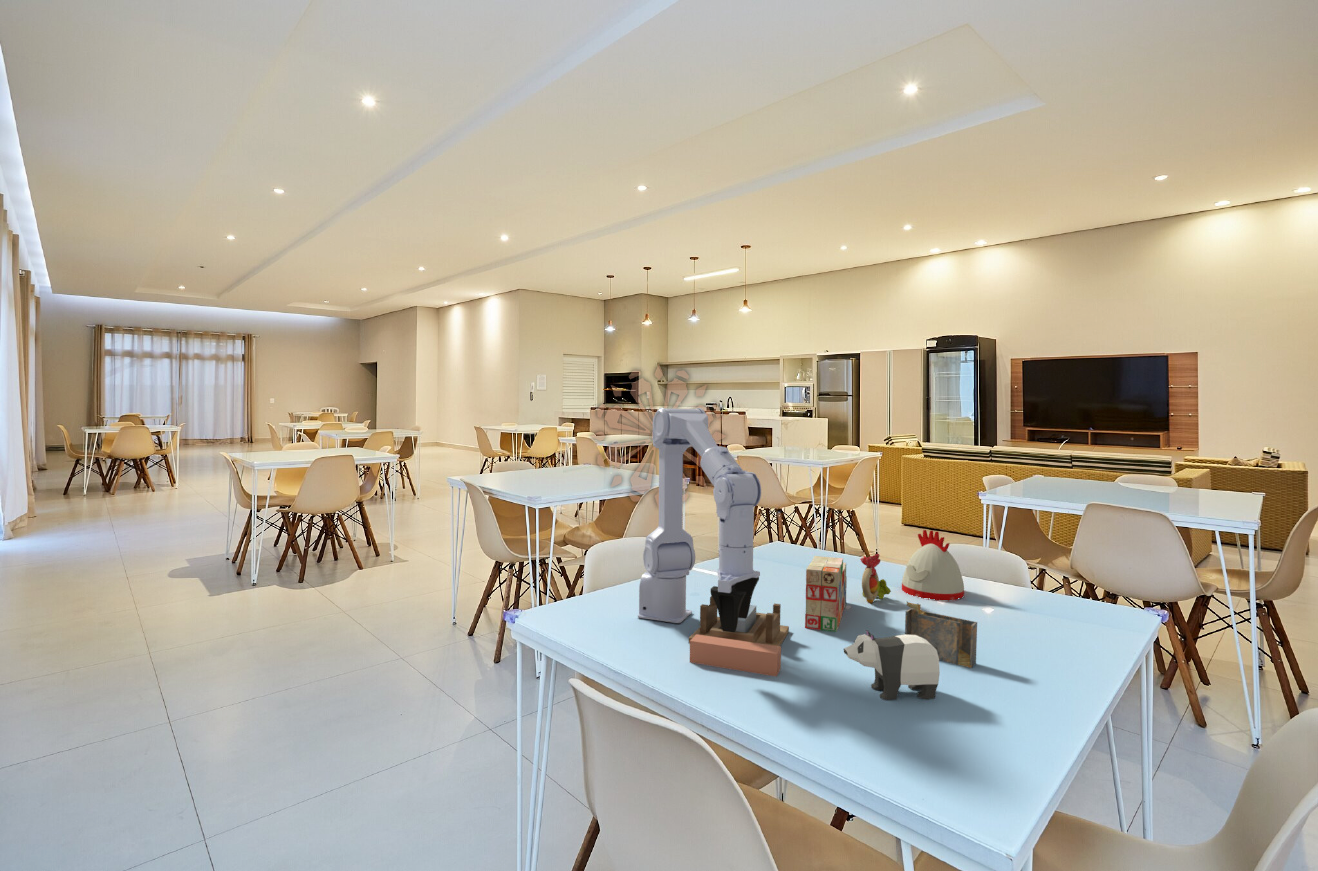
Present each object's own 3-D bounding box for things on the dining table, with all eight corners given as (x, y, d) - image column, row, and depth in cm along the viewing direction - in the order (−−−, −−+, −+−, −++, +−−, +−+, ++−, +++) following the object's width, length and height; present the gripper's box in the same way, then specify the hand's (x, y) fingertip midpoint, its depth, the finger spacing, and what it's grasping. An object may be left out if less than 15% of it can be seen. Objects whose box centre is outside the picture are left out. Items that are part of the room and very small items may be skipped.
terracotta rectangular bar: (689, 663, 109) (689, 640, 109) (695, 656, 112) (696, 634, 112) (776, 677, 103) (777, 653, 103) (780, 669, 107) (781, 646, 107)
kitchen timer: (926, 582, 163) (927, 524, 163) (976, 595, 151) (978, 533, 151) (889, 589, 156) (891, 528, 156) (939, 604, 144) (941, 538, 144)
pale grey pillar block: (722, 639, 117) (723, 618, 117) (736, 622, 126) (736, 603, 126) (744, 642, 116) (744, 621, 115) (756, 625, 125) (756, 605, 125)
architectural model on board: (903, 653, 115) (904, 600, 114) (909, 649, 117) (910, 597, 117) (971, 671, 107) (972, 614, 107) (975, 665, 110) (977, 610, 109)
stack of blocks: (818, 599, 147) (819, 547, 146) (846, 603, 144) (847, 549, 144) (804, 628, 127) (805, 567, 126) (836, 633, 125) (838, 570, 124)
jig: (688, 643, 118) (689, 610, 118) (710, 620, 131) (711, 590, 131) (774, 656, 112) (774, 621, 112) (788, 631, 125) (789, 600, 125)
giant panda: (927, 684, 101) (929, 625, 101) (945, 700, 95) (946, 637, 95) (837, 685, 100) (838, 625, 100) (849, 701, 95) (851, 638, 94)
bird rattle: (884, 614, 143) (893, 589, 150) (879, 573, 139) (889, 550, 146) (856, 609, 146) (866, 585, 153) (851, 569, 142) (861, 547, 149)
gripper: (749, 555, 99) (747, 641, 99) (768, 538, 112) (767, 614, 113) (705, 551, 101) (704, 635, 102) (730, 535, 115) (729, 609, 115)
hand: (735, 624), depth 108 cm, fingers open, 7 cm apart
